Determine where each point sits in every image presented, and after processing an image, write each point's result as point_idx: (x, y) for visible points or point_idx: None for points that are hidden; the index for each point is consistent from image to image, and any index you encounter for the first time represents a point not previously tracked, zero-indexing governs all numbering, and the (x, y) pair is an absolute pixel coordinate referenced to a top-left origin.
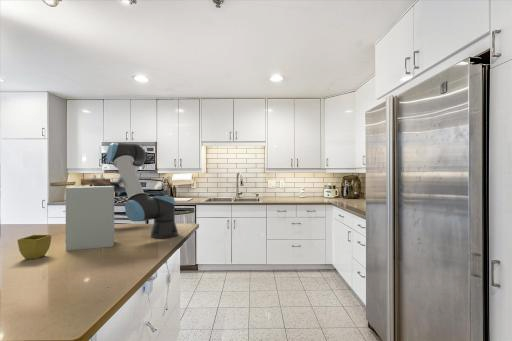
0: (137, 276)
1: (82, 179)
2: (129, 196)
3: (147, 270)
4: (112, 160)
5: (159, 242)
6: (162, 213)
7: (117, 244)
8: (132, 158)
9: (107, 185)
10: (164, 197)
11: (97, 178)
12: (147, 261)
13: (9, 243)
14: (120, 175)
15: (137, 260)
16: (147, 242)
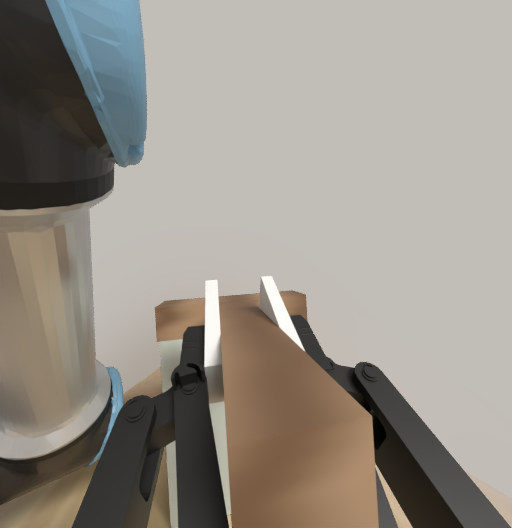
0: None
1: (285, 291)
2: (96, 373)
3: (154, 372)
4: (116, 162)
5: (45, 493)
6: None
7: (166, 488)
8: None
9: (152, 486)
10: None
11: (282, 340)
12: (143, 389)
13: None
14: (89, 290)
15: (154, 393)
16: (75, 499)
